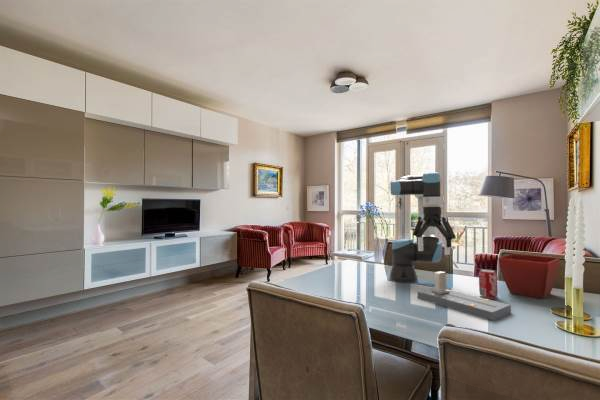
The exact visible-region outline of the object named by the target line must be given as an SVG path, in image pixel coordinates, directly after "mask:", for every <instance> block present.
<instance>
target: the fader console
mask: <svg viewBox="0 0 600 400" xmlns="http://www.w3.org/2000/svg"><path fill="white" fill-rule="evenodd" d="M433 289H435V286H433V287H429V288H425V289H420V290H418V291H417V298H418V299H420V300H423V301H426V302H430V303H432V304H433V303H434V304H437V305H440V306H442V307H446V308H447V307H448V308H449V309H453V310H457V311H460V312H464V313H467V314H469V315H470V314H471V315H472V316H476V317H479V318H484V319H485V320H486V319H487V320H489V321H495V320H497V319H500V318H501V317H504V316H507V315H509V314H511V313H512V306H511V305H512V304H507V303H503V302H501V301H496V300H492V299H490V298H485V297H479V296H476V295H471V294H467V293H463V292H460V291H455V290H451V289H448V288H446V289H447V290H450V293H446V294H443V295H441V294H437V293H433V292H431V290H433Z"/></svg>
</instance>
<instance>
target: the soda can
mask: <svg viewBox="0 0 600 400" xmlns="http://www.w3.org/2000/svg"><path fill="white" fill-rule="evenodd" d="M478 288H479V289H478V290H479V295H480V296H482V298H484V299H496V297H498V276H497V274H496V271H495V270H494V269H485V268H482V269H480V270H479V273H478Z"/></svg>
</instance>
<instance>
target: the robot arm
mask: <svg viewBox="0 0 600 400" xmlns="http://www.w3.org/2000/svg"><path fill="white" fill-rule="evenodd" d="M441 180H442V179H441V174H440V173H439V172H438V171H437V172H436V171H435V172H434V171H433V172H424V173H423V174H415V175H414V174H413V175H411V174H410V175H404V176H401V177H398V178H397V179H395V180H391V181H390V185H389V186H390V195H391V196H408V195H409V196H411V195H412V196H414V197H415V198H416V199H417V211H418V214H417V215H418V216H417V223H416V225H415V227H414V230H413V233H412V236H415V237H416V240H415V241H414V238H401V239H396V240H393V241H392V243H391V244H392V245H391V250H392V252H391V253H392V254H391V255H392V267H391V270H390V273H389V279H390V280H391V279H392V280H391V281H393V280H395V281H394V282H397V281H399V282H398V283H406V282H409V283H416V282H418V281H419V280H418V275H417V271H416V269H415V266H414V265H415V263H431V264H432V263H435V264H436V263H440V262H441V260H442V255H443V245H444V256H448V255H451V248H452V240H455V239H457V238H456V237H457V236H456V234H455V232H454V230H453V228H452V225H450V222H449V217H448V216H443V217H442V207H441V205H442V197H441ZM436 229H438V230H439V232H440V233H441V234H442V236H443V237H444V238H445V239H444V241H443V242H442V241H440V239H439V237H438V236H437V234H436Z"/></svg>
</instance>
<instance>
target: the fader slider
mask: <svg viewBox="0 0 600 400" xmlns="http://www.w3.org/2000/svg"><path fill="white" fill-rule="evenodd" d="M433 274H434V275H433V279H434V281H433V282H434V283H433V284H434V287H435V289H433V290H431V292H433V293H437V294H441V295H443V294H446V293H450V290H451V289H448V288H447V274H446V271H442V270H440V271H435V272H433ZM447 289H448V290H447Z"/></svg>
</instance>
